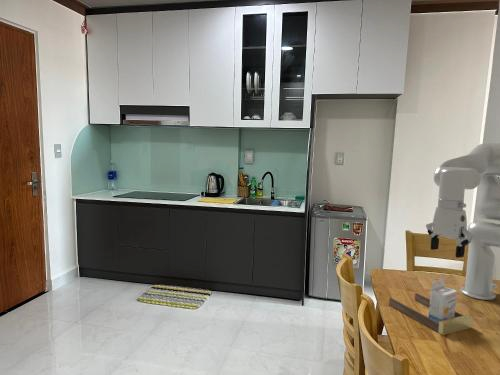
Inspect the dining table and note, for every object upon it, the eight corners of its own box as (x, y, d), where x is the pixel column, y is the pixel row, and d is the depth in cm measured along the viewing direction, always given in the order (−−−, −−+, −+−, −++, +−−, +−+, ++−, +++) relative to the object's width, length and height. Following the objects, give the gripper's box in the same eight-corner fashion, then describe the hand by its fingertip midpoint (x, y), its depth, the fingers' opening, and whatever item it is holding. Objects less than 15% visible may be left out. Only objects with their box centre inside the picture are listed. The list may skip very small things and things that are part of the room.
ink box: (441, 327, 118) (445, 286, 117) (427, 321, 123) (430, 281, 121) (454, 322, 123) (458, 282, 121) (440, 316, 127) (444, 277, 126)
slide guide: (415, 299, 141) (416, 290, 140) (471, 327, 119) (472, 316, 119) (389, 305, 135) (389, 295, 135) (442, 335, 114) (443, 323, 113)
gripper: (483, 208, 112) (478, 259, 113) (436, 200, 127) (432, 245, 129) (467, 209, 109) (462, 261, 111) (421, 201, 125) (418, 247, 127)
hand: (446, 253), depth 120 cm, fingers open, 9 cm apart
